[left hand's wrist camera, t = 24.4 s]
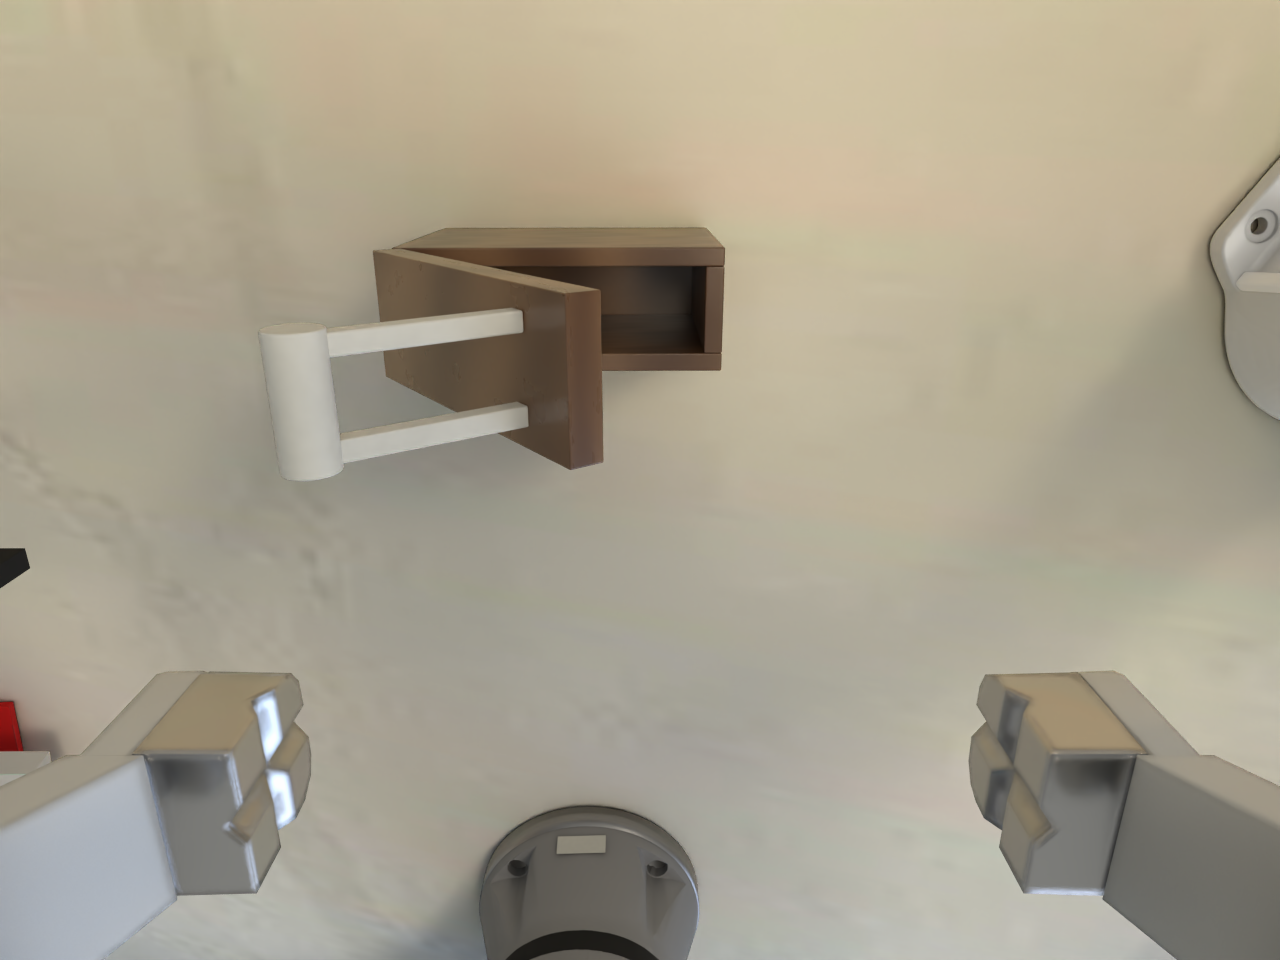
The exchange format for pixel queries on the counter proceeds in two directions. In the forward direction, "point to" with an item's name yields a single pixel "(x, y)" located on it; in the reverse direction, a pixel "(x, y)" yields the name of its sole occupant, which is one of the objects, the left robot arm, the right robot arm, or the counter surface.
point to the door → (447, 366)
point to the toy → (16, 748)
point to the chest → (617, 284)
